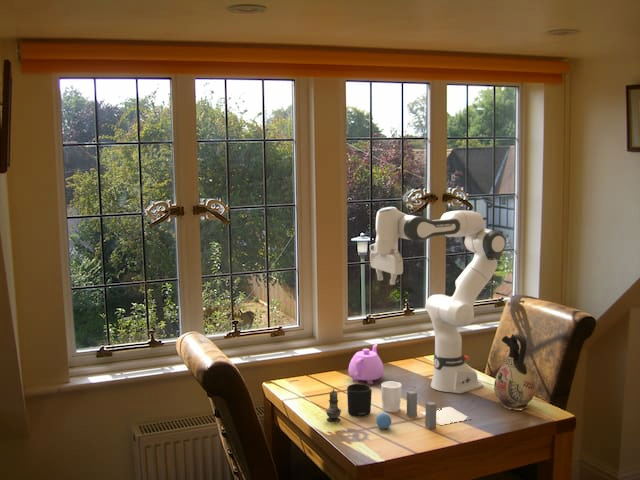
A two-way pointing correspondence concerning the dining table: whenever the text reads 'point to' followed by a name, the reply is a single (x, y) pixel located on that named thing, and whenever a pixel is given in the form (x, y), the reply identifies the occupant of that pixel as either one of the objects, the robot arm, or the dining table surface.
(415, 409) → the post
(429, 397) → the dining table surface
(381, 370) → the teapot
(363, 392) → the pen holder
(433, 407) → the post
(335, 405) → the grey chess piece
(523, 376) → the ceramic jug
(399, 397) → the white cup
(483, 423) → the dining table surface
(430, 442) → the dining table surface
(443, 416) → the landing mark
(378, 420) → the ball
